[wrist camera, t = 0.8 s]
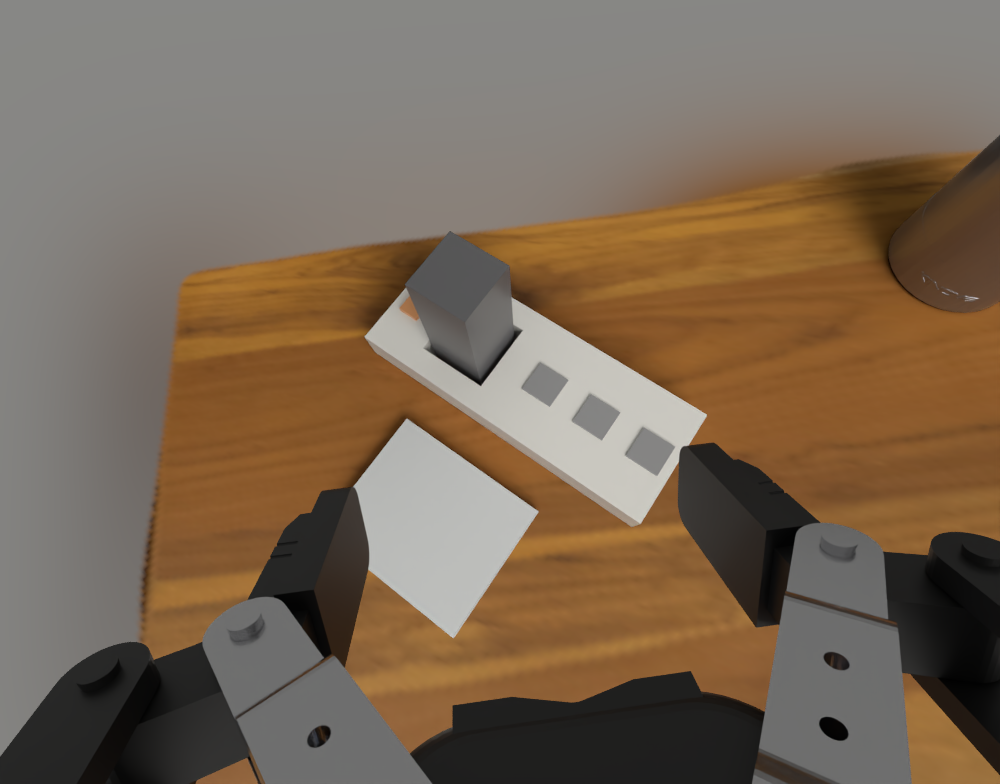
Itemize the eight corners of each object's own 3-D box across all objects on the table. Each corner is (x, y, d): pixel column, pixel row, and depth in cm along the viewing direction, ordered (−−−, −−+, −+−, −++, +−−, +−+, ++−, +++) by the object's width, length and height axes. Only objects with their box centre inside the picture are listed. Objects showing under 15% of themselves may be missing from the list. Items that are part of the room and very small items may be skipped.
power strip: (442, 272, 44) (435, 249, 41) (694, 426, 39) (709, 413, 35) (375, 352, 42) (362, 334, 39) (631, 527, 36) (641, 523, 33)
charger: (471, 320, 42) (449, 231, 31) (514, 348, 41) (509, 266, 30) (438, 361, 41) (404, 284, 30) (482, 390, 40) (464, 322, 29)
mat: (409, 422, 40) (406, 418, 39) (538, 512, 37) (538, 511, 36) (324, 530, 38) (319, 529, 37) (455, 636, 35) (453, 638, 34)
